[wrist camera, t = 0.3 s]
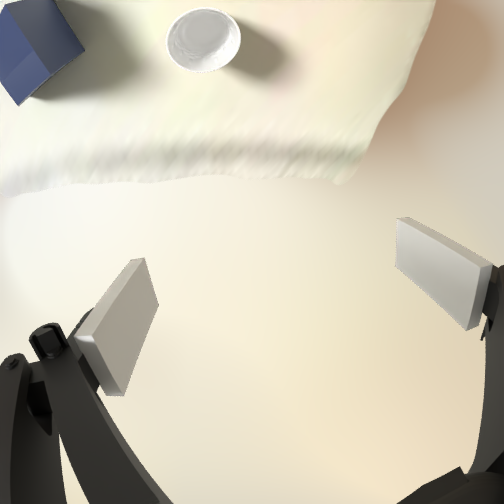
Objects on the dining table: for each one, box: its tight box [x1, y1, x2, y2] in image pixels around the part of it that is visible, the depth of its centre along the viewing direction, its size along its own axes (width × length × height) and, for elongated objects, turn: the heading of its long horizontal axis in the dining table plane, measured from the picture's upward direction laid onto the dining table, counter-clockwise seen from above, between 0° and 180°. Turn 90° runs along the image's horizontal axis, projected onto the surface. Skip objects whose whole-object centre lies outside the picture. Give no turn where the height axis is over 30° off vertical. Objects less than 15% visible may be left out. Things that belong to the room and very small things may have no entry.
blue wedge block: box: [0, 0, 85, 106], centre depth 21 cm, size 12×12×12 cm
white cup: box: [166, 7, 241, 73], centre depth 27 cm, size 8×8×10 cm
